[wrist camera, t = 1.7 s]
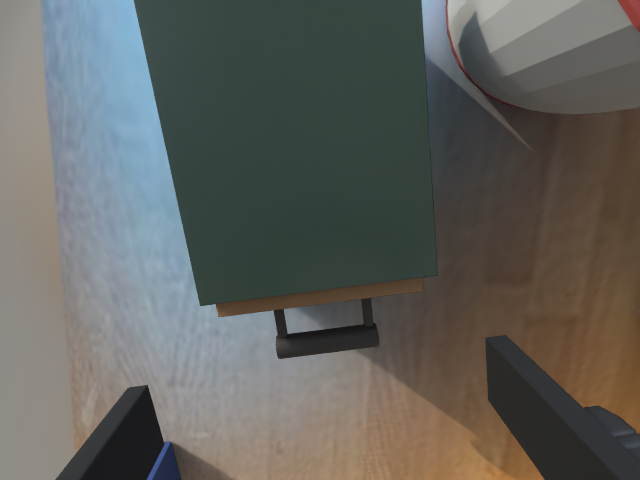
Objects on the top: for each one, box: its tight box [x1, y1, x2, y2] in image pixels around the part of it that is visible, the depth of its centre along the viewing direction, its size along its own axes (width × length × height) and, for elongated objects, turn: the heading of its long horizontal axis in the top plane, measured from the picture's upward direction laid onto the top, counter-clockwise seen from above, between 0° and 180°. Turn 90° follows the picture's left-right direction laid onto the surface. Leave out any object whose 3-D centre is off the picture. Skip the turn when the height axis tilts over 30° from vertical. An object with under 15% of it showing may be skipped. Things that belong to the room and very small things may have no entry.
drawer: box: [216, 277, 424, 359], centre depth 25 cm, size 20×12×8 cm, turn 7°
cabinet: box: [134, 0, 438, 306], centre depth 24 cm, size 17×14×10 cm
